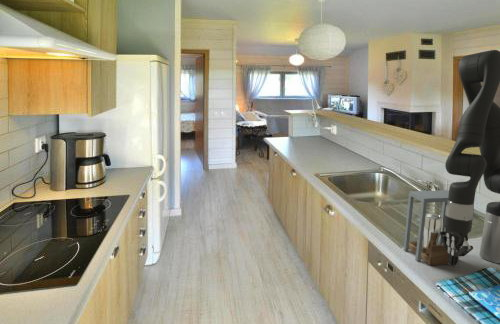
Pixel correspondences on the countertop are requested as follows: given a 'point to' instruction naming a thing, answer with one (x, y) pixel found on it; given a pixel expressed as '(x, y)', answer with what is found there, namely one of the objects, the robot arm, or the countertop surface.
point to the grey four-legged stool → (423, 215)
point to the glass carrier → (432, 254)
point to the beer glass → (431, 231)
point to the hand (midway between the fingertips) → (452, 264)
